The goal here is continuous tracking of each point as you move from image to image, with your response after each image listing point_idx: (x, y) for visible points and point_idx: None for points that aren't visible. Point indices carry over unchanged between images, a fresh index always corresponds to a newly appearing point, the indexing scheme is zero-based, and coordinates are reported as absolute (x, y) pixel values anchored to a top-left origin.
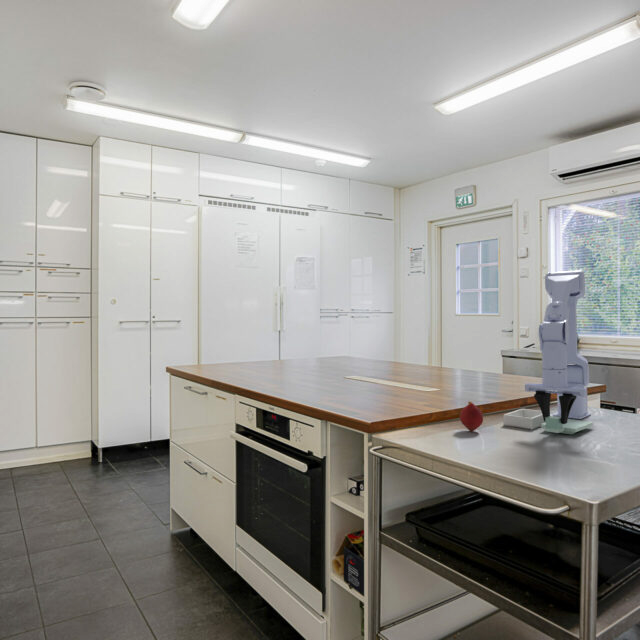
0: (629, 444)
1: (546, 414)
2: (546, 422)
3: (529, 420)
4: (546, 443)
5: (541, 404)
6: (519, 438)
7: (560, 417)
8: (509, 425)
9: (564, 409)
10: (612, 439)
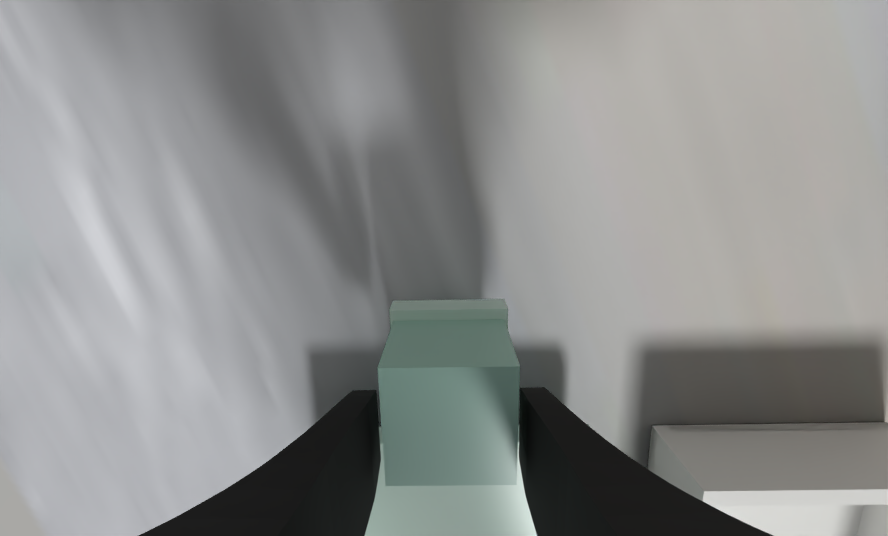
0: (15, 438)
1: (537, 440)
2: (501, 341)
3: (715, 474)
4: (397, 74)
5: (637, 498)
6: (633, 84)
7: (400, 473)
8: (841, 427)
9: (264, 478)
10: (146, 495)
